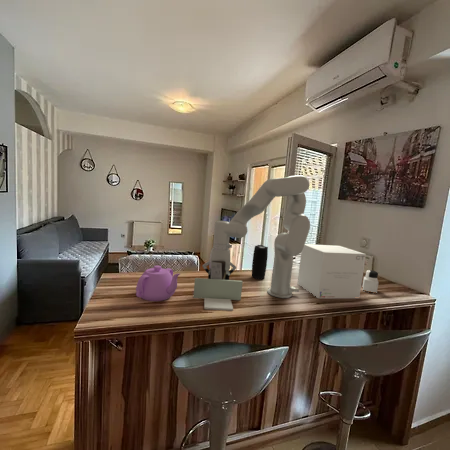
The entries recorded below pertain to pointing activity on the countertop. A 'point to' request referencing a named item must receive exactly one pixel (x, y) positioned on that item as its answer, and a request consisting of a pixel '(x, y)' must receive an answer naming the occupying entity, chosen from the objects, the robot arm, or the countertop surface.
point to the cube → (331, 271)
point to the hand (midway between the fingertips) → (218, 281)
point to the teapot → (156, 284)
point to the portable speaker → (259, 261)
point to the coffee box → (218, 270)
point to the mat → (218, 304)
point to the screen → (217, 289)
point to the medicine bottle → (370, 281)
